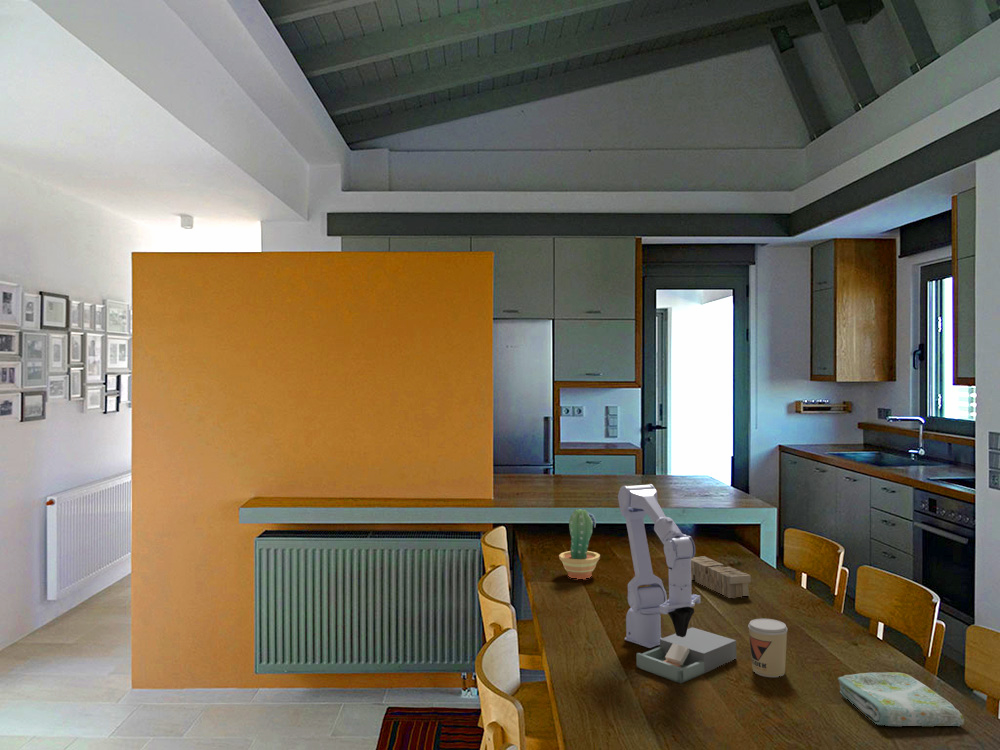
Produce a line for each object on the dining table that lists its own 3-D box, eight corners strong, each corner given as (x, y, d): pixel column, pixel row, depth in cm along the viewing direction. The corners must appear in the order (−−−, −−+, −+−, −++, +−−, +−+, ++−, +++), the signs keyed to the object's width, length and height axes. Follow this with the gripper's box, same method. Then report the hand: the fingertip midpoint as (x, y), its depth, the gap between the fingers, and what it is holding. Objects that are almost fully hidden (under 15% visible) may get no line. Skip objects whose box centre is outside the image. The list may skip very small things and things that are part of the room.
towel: (910, 689, 181) (909, 667, 181) (965, 731, 160) (965, 706, 160) (834, 691, 181) (833, 669, 181) (879, 733, 160) (879, 709, 160)
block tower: (686, 580, 280) (730, 600, 252) (685, 557, 280) (729, 575, 252) (706, 578, 282) (751, 598, 254) (705, 556, 282) (750, 572, 254)
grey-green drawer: (636, 667, 197) (636, 653, 197) (660, 657, 203) (660, 644, 203) (680, 683, 186) (680, 669, 186) (704, 673, 192) (704, 659, 192)
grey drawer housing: (660, 657, 203) (659, 639, 203) (692, 645, 212) (692, 627, 212) (704, 673, 192) (703, 653, 192) (736, 659, 201) (736, 640, 201)
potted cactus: (602, 581, 277) (601, 513, 277) (560, 582, 278) (559, 513, 278) (598, 570, 293) (597, 505, 293) (558, 571, 293) (556, 506, 293)
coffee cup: (741, 667, 195) (740, 621, 195) (770, 662, 198) (769, 616, 198) (766, 681, 186) (765, 632, 186) (796, 675, 190) (795, 627, 190)
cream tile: (666, 660, 196) (665, 656, 195) (674, 647, 198) (672, 643, 198) (682, 665, 193) (680, 661, 192) (689, 651, 195) (688, 647, 195)
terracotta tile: (667, 659, 197) (667, 665, 197) (655, 663, 194) (655, 669, 194) (681, 664, 193) (681, 670, 193) (669, 669, 190) (669, 675, 190)
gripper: (674, 592, 190) (675, 646, 190) (709, 581, 199) (710, 633, 199) (652, 586, 195) (653, 639, 195) (687, 576, 204) (688, 626, 204)
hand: (680, 635), depth 197 cm, fingers closed
